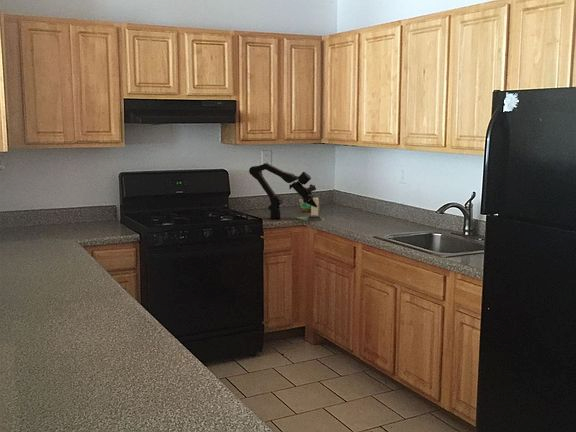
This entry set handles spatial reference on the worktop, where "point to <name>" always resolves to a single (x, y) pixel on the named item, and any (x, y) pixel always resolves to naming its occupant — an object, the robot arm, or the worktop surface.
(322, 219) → the board
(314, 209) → the plug
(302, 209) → the food container
